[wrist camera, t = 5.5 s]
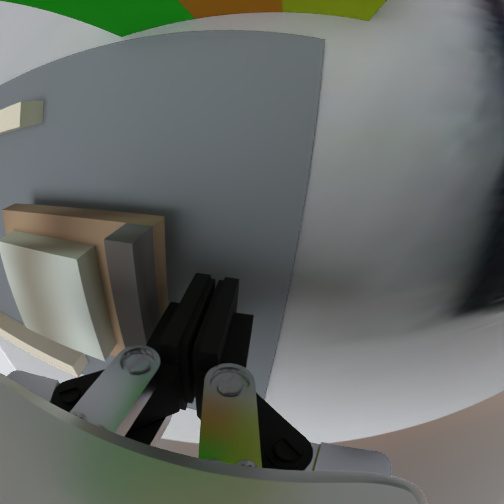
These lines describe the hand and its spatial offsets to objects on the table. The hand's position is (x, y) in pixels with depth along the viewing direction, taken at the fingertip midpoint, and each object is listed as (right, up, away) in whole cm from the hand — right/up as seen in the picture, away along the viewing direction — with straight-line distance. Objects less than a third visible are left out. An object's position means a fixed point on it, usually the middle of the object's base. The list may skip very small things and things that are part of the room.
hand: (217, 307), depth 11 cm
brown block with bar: (-6, +1, +1) cm, 7 cm away
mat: (-10, +2, +2) cm, 10 cm away
